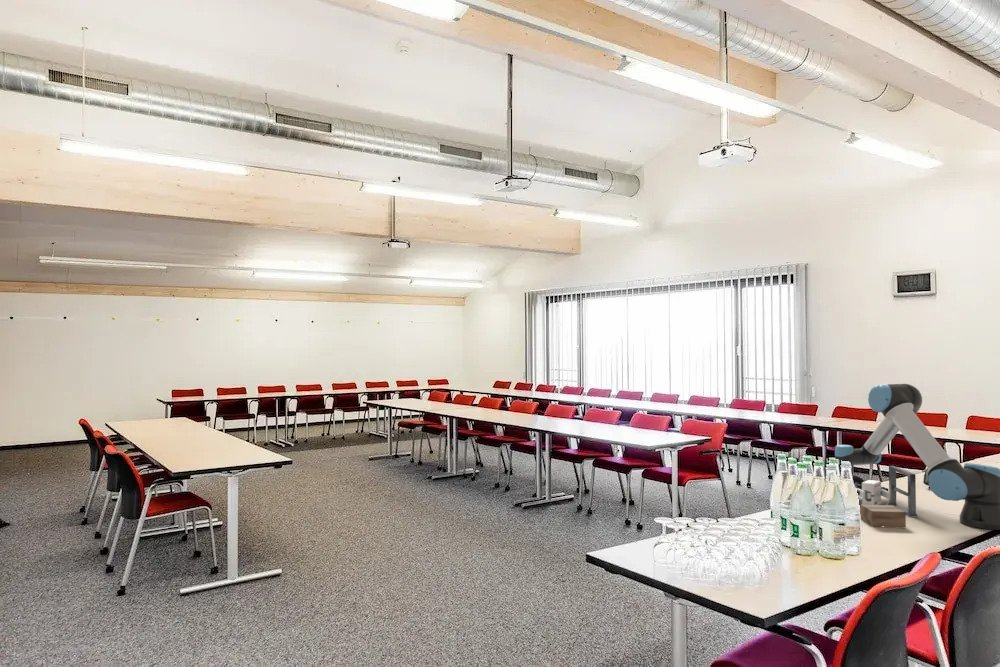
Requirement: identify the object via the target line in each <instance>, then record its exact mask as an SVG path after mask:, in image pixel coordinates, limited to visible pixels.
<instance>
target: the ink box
mask: <svg viewBox="0 0 1000 667" xmlns="http://www.w3.org/2000/svg"><path fill="white" fill-rule="evenodd" d="M881 487H882V482H881V481H880V480H875V479H873V480H872V479H868V480H866V481H865V480H864V482H862V490H863V491H864V492H865V498H862V497H861V505H882V496H881Z"/></svg>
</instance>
